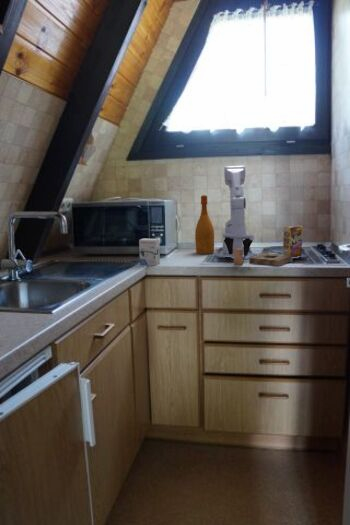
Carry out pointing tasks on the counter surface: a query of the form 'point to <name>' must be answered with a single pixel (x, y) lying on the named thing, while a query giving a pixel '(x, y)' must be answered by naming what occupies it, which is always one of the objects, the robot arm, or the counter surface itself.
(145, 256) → the ink box
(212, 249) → the wine bottle
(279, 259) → the socket block
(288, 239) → the candy box
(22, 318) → the counter surface
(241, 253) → the peg
